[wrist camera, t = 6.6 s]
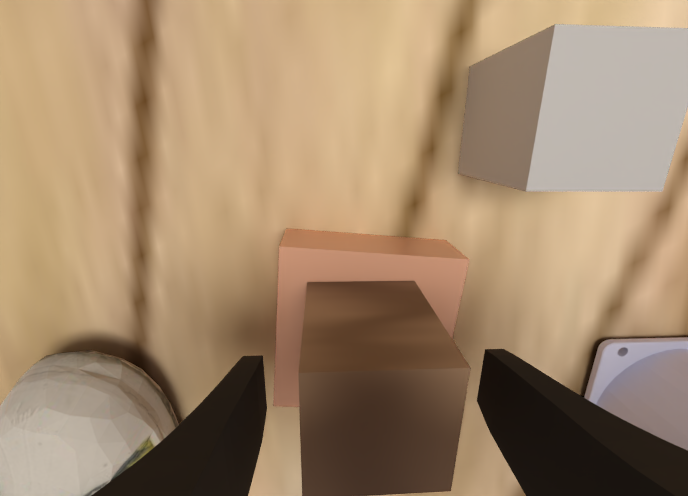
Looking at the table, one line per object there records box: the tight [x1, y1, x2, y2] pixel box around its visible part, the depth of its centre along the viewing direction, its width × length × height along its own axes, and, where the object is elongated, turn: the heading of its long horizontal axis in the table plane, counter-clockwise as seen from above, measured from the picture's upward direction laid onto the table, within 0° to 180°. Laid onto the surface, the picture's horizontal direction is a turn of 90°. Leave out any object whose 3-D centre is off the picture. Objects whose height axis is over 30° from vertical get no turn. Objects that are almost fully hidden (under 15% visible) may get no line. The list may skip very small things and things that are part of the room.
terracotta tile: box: [273, 228, 469, 407], centre depth 15 cm, size 7×7×3 cm
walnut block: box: [298, 281, 470, 496], centre depth 11 cm, size 4×4×5 cm
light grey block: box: [458, 24, 688, 191], centre depth 11 cm, size 4×4×5 cm
